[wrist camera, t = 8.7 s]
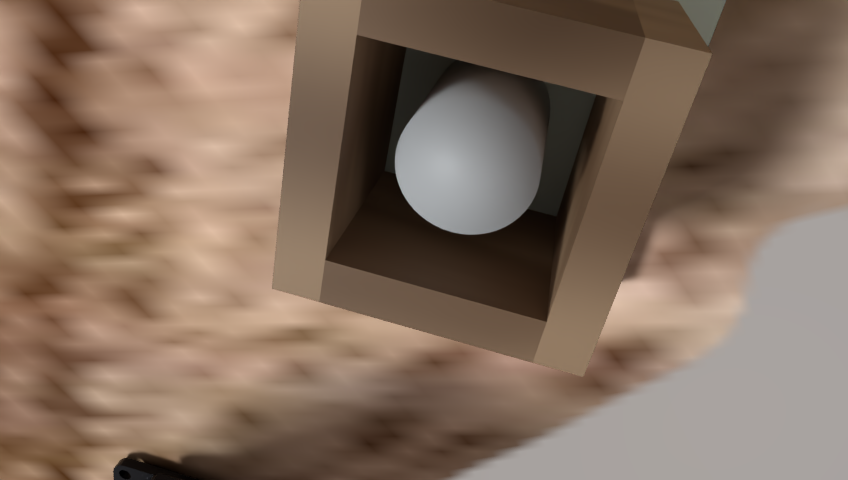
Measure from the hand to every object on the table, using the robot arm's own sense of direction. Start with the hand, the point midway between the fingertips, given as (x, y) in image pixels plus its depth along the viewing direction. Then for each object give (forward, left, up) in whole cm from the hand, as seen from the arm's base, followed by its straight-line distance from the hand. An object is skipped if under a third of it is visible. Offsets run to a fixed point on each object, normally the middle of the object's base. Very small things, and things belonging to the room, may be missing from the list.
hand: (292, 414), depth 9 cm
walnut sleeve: (+1, -1, -11) cm, 11 cm away
